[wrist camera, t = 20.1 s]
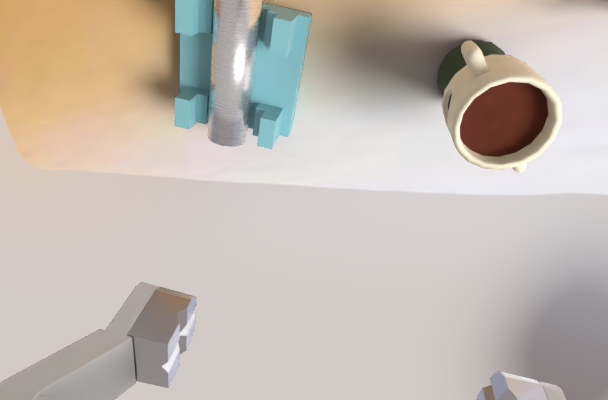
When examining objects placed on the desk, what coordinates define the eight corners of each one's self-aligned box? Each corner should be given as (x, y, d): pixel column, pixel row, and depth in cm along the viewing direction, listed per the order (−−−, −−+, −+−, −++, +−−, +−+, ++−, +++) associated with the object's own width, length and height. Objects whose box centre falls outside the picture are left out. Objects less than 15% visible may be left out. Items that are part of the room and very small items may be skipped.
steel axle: (224, -20, 36) (208, -15, 33) (267, -10, 36) (256, -4, 33) (215, 124, 44) (201, 140, 41) (251, 133, 44) (240, 149, 40)
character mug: (411, 41, 38) (424, 83, 27) (488, -3, 35) (536, 25, 25) (456, 136, 42) (482, 204, 32) (527, 103, 40) (583, 166, 29)
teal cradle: (189, -15, 39) (163, -8, 34) (312, 13, 38) (303, 24, 34) (186, 104, 45) (165, 123, 41) (291, 129, 45) (281, 151, 40)
